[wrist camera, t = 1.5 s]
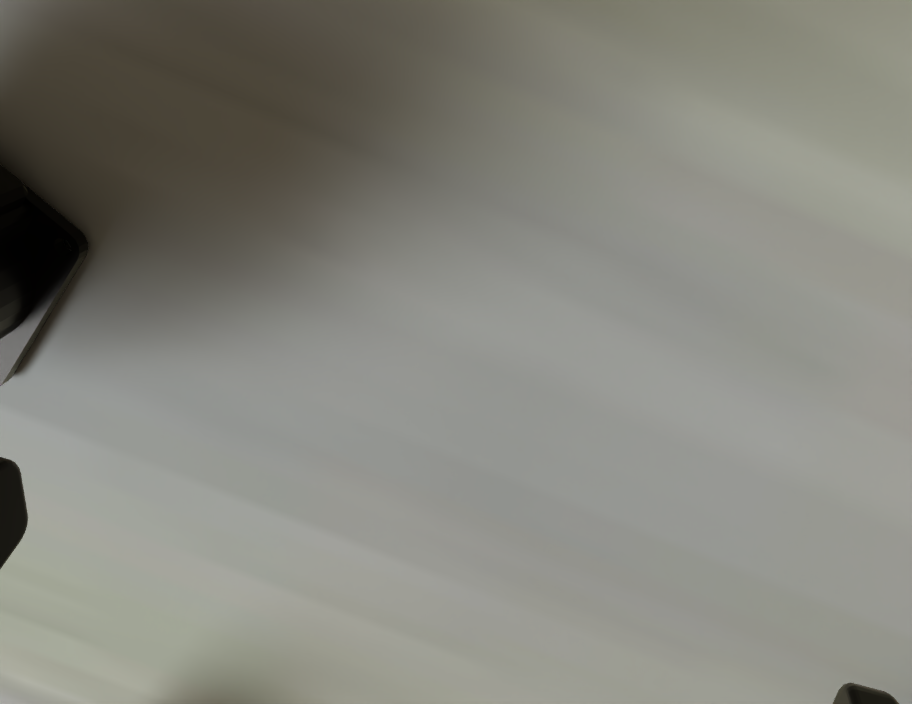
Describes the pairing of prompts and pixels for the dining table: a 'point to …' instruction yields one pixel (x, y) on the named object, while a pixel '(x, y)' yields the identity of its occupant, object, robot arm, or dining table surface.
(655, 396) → the dining table surface
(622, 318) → the dining table surface
